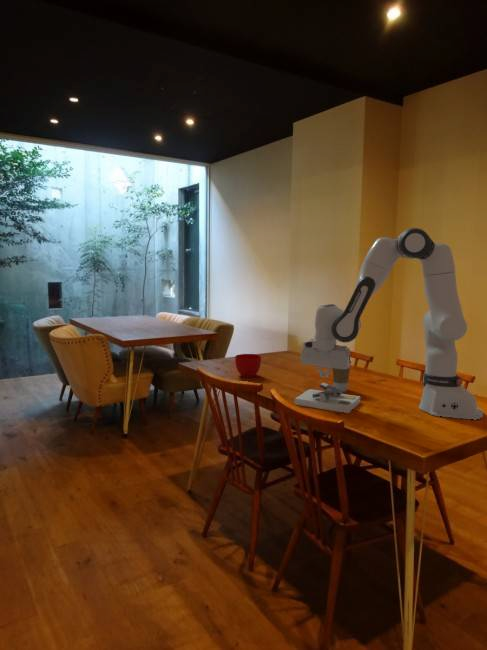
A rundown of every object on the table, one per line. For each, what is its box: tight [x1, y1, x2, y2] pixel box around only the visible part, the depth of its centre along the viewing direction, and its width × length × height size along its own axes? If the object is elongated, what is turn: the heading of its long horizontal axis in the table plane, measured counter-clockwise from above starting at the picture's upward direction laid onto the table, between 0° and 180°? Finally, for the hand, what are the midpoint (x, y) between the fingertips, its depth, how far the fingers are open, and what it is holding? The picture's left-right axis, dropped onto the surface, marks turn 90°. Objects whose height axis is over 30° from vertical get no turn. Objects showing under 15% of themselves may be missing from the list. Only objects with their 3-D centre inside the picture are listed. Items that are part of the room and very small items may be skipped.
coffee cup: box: [331, 356, 352, 392], centre depth 205 cm, size 8×8×15 cm
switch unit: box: [294, 385, 361, 414], centre depth 185 cm, size 22×16×6 cm
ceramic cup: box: [234, 353, 262, 378], centre depth 232 cm, size 13×17×10 cm
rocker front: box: [312, 390, 337, 398], centre depth 181 cm, size 9×4×1 cm, turn 60°
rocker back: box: [319, 382, 344, 396], centre depth 188 cm, size 9×4×1 cm, turn 61°
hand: (324, 376), depth 189 cm, fingers closed
